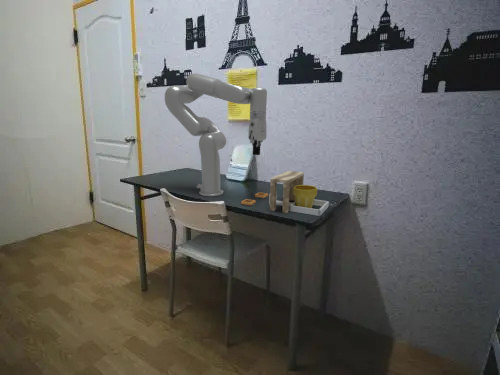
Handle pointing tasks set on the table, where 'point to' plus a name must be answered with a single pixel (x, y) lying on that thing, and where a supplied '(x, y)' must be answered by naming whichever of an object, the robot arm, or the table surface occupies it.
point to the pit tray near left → (261, 195)
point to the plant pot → (304, 195)
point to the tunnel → (285, 188)
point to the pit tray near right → (248, 202)
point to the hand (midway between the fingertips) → (256, 154)
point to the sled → (303, 209)
